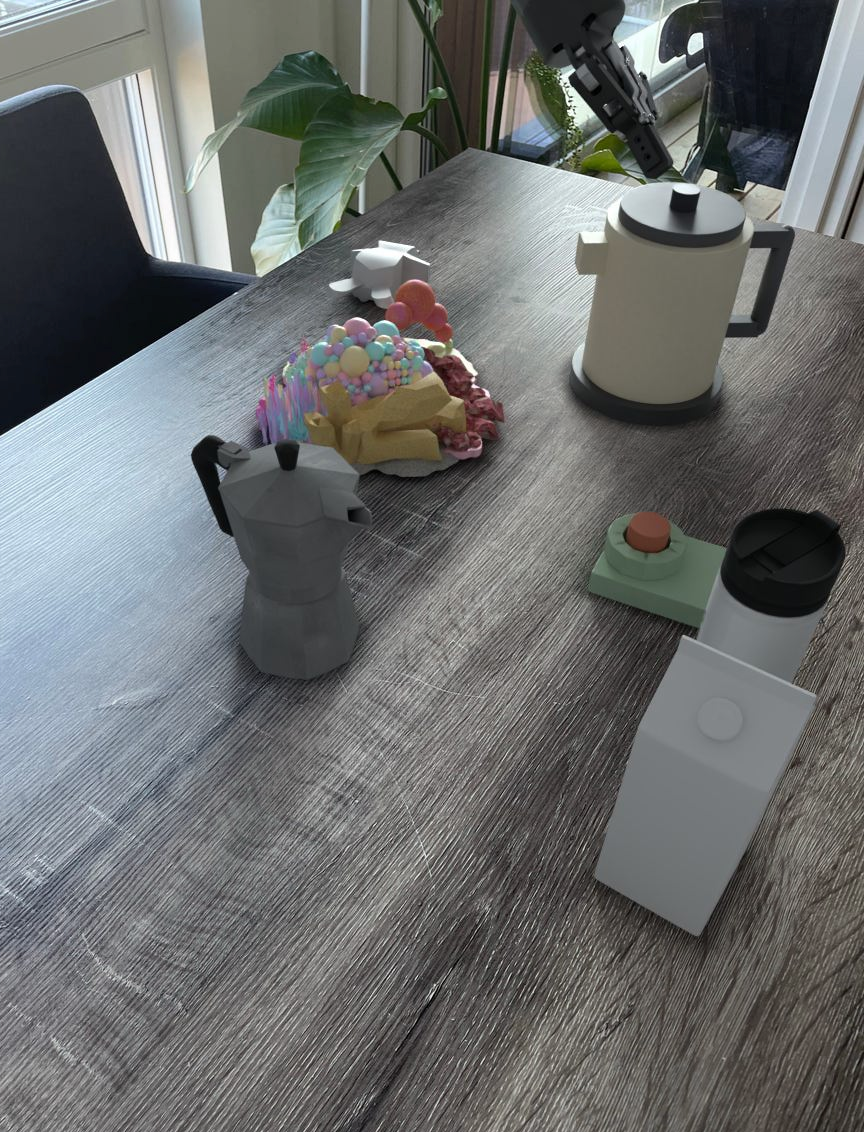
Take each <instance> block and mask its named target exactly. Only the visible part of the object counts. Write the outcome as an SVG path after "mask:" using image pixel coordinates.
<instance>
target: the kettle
mask: <svg viewBox="0 0 864 1132" xmlns="http://www.w3.org/2000/svg"><path fill="white" fill-rule="evenodd" d="M746 212H747V211H746V209H745V207H744V205H742V203H741V202H740V201H738V200H737V199H736V198H734V197H733V196H731V195H730V194H727V193H726V192H723V191H721V190H718V189H715V188H713V187H708V186H704V185H701V184H695V183H688V182H679V181H678V182H677V181H662V182H660V181H659V182H654V183H653V182H651V183H646V184H642V185H638V186H636V187H633V188H631V189H629V190H628V191H626V192H625V193H623V195H622V196H621V198H619V199H617V200H616V201H614V202H613V203H612V204H611V205H610V207H609V208H608V209H607V212H606V217H605V221H604V222H605V223H604V228H603V231H579V232H578V239H577V245H576V250H575V258H574V265H575V268H576V271H577V274H578V275H579V276H595V282H594V288H593V295H592V299H591V305H590V311H589V318H588V324H587V329H586V334H585V335H586V336H585V341H584V342H583V343H581V344H580V345H579V347H577V348H576V349H575V352H574V354H573V356H572V359H571V365H570V371H569V384H570V388H571V390H572V391H573V393H574V395H575V396H576V398H578V400H580V402H581V403H583V404H584V405H585V406H586V407H588V408H590V409H592V411H595V412H597V413H598V414H600V415H602V416H604V417H607V418H610V419H612V420H615V421H618V422H621V423H627V424H629V425H636V426H642V427H643V426H645V427H673V426H680V425H685V424H689V423H692V422H694V421H695V422H696V421H697V420H699V419H702V418H704V417H706V416H707V415H708V414H709V413H711V412H712V411H713V410H714V409H715V407H716V406H717V405H718V402H719V399H720V395H721V392H722V390H723V389H722V388H723V385H724V379H725V376H724V372H723V370H722V367H721V365H720V363H719V359H720V356H721V352H722V349H723V346H724V343H725V339H737V338H738V339H742V338H746V339H747V338H748V339H749V338H750V339H751V338H759V336H761V335H763V334H764V333H766V331H767V329H768V326H769V323H770V320H771V317H772V314H773V310H774V306H775V303H776V300H777V297H778V294H779V290H780V287H781V285H782V280H783V277H784V274H785V271H786V267H787V264H788V261H789V258H790V255H791V252H792V249H793V248H792V247H793V244H794V241H795V238H796V231H795V229H794V228H793V227H792V226H791V225H787V224H785V223H754V222H753V221H752V220H751V218H750V217H749V216H748V215H747V213H746ZM750 249H769V250H768V251H769V252H768V255H767V258H766V262H765V266H764V269H763V272H762V275H761V279H760V281H759V285H758V290H757V293H756V296H755V300H754V304H753V307H752V310H751V313H750V314H732V313H733V309H734V307H735V302H736V298H737V295H738V291H739V288H740V284H741V280H742V277H743V274H744V270H745V266H746V262H747V258H748V255H749V253H750V252H749V251H750Z"/></svg>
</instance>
